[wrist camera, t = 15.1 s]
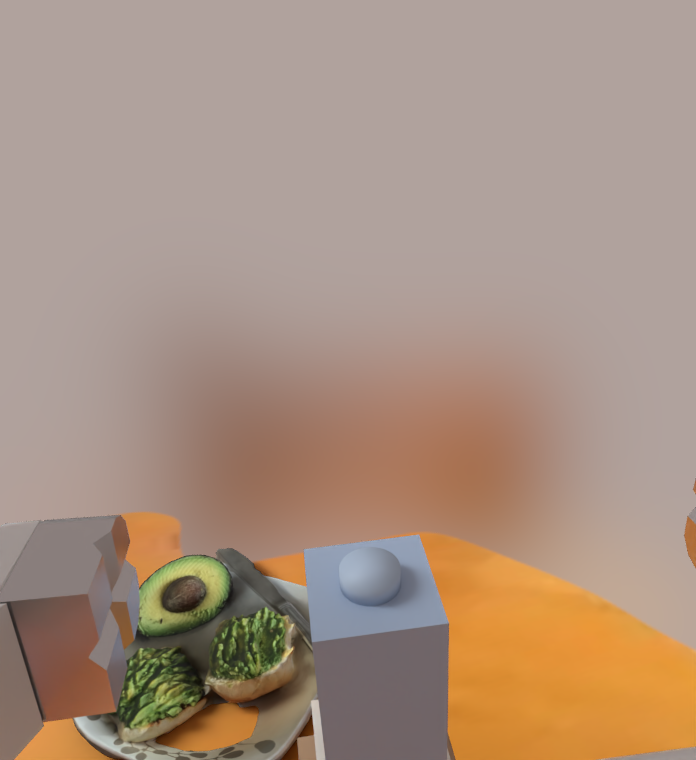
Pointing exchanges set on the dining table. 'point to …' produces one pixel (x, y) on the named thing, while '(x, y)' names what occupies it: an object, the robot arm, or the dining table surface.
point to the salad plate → (212, 660)
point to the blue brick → (378, 650)
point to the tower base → (310, 748)
